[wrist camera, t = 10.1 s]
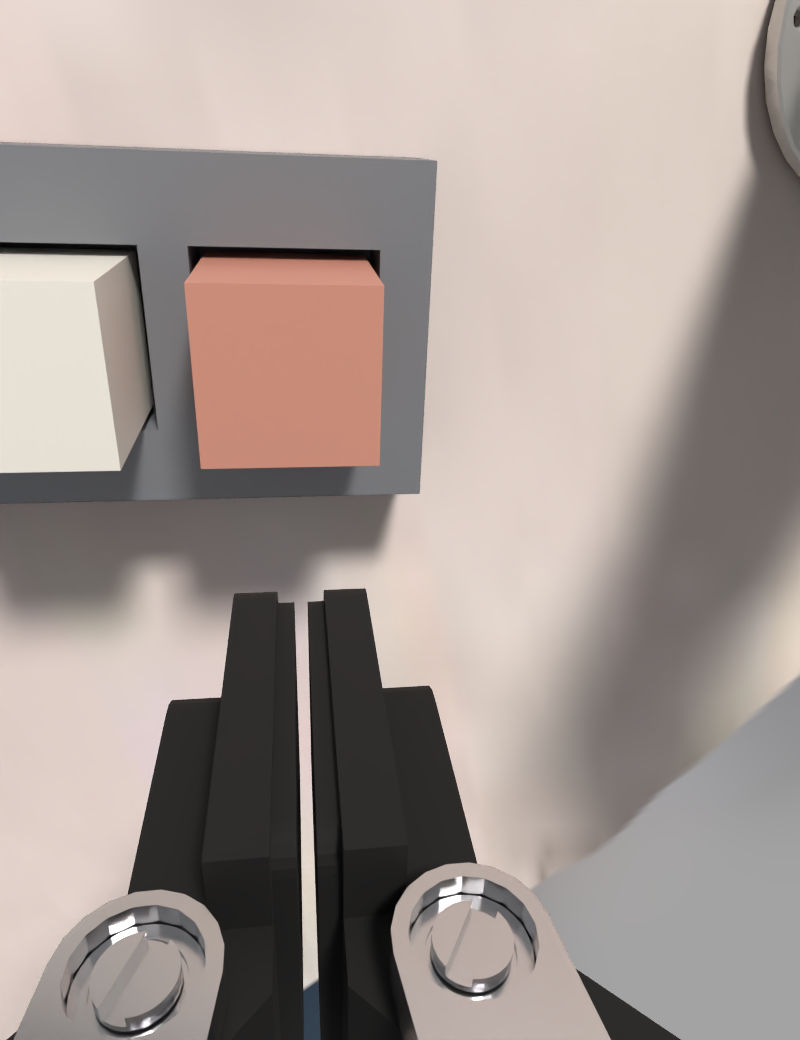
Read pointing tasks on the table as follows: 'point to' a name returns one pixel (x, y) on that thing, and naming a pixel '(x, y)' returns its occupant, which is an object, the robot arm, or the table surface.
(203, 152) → the console
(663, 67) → the table surface
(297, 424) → the key brick
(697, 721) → the table surface
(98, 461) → the key ivory
